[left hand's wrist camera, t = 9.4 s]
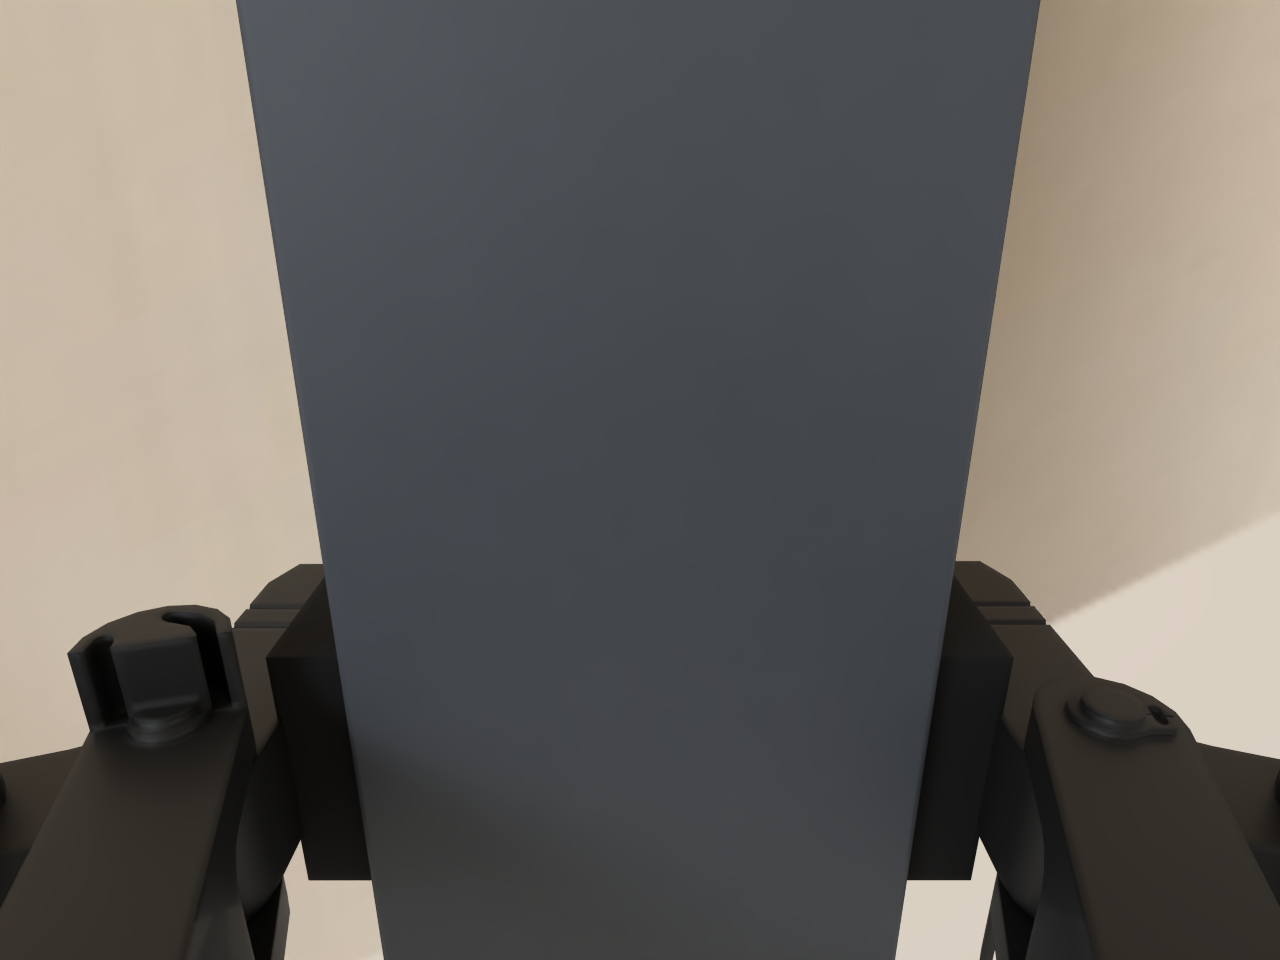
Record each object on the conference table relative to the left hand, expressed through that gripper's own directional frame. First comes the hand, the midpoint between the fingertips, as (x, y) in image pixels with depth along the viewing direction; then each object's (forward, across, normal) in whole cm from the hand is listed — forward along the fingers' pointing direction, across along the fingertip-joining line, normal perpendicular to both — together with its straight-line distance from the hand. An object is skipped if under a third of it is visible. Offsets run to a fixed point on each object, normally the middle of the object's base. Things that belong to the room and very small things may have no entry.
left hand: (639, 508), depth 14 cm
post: (+1, 0, -21) cm, 21 cm away
